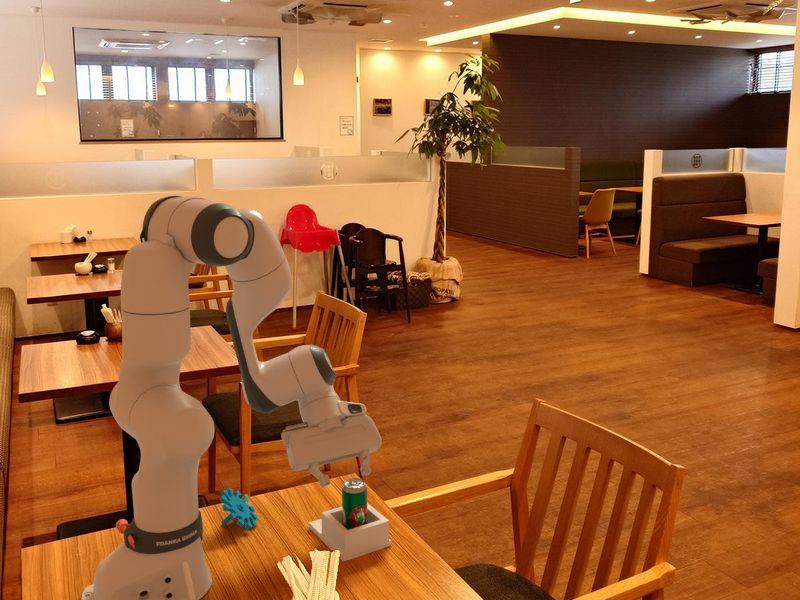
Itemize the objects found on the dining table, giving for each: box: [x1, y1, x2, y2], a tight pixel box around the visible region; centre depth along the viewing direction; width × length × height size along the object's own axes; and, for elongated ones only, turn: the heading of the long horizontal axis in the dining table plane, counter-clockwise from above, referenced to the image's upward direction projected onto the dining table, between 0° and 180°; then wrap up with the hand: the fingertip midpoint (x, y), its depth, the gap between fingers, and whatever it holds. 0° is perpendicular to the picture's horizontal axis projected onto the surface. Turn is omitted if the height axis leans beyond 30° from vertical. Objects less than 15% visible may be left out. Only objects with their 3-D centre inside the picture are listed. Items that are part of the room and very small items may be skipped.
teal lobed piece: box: [219, 487, 259, 530], centre depth 163 cm, size 11×6×10 cm
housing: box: [308, 502, 392, 563], centre depth 158 cm, size 11×15×6 cm
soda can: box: [341, 477, 368, 530], centre depth 154 cm, size 5×5×12 cm
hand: (346, 479), depth 156 cm, fingers open, 8 cm apart
